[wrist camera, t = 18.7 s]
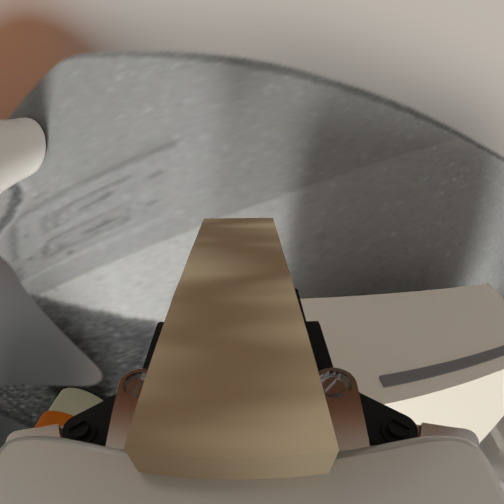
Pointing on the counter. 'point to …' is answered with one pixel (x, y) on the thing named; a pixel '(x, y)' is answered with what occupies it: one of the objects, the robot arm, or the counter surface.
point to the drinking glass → (20, 150)
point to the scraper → (233, 368)
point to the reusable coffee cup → (68, 406)
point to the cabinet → (422, 351)
